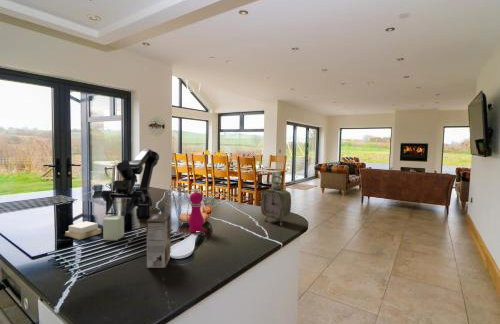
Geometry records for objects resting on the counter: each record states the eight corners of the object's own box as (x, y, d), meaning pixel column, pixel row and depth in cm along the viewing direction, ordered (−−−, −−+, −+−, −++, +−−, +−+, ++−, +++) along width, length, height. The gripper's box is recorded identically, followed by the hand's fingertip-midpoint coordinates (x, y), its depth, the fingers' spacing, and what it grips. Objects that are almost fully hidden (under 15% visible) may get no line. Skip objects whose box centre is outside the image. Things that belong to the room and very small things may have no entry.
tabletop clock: (260, 221, 150) (261, 175, 148) (270, 218, 156) (272, 174, 154) (282, 227, 140) (283, 178, 138) (292, 223, 146) (293, 176, 145)
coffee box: (153, 256, 101) (153, 213, 100) (171, 256, 102) (171, 213, 101) (146, 268, 92) (145, 220, 91) (165, 267, 93) (165, 220, 91)
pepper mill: (206, 229, 134) (206, 188, 132) (198, 234, 127) (199, 191, 125) (193, 227, 136) (193, 187, 134) (185, 232, 129) (185, 189, 128)
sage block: (110, 235, 123) (110, 215, 122) (123, 235, 123) (123, 215, 122) (103, 240, 117) (103, 219, 116) (117, 240, 117) (117, 219, 116)
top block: (85, 226, 129) (85, 221, 129) (98, 228, 126) (97, 223, 125) (68, 231, 121) (68, 225, 121) (81, 234, 118) (81, 228, 118)
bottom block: (87, 230, 130) (87, 225, 130) (101, 234, 126) (101, 229, 126) (65, 237, 121) (65, 231, 121) (79, 241, 117) (79, 235, 117)
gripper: (102, 173, 127) (88, 201, 117) (142, 173, 127) (132, 202, 117) (110, 187, 135) (99, 215, 125) (149, 188, 135) (140, 216, 125)
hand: (117, 212), depth 123 cm, fingers open, 9 cm apart
